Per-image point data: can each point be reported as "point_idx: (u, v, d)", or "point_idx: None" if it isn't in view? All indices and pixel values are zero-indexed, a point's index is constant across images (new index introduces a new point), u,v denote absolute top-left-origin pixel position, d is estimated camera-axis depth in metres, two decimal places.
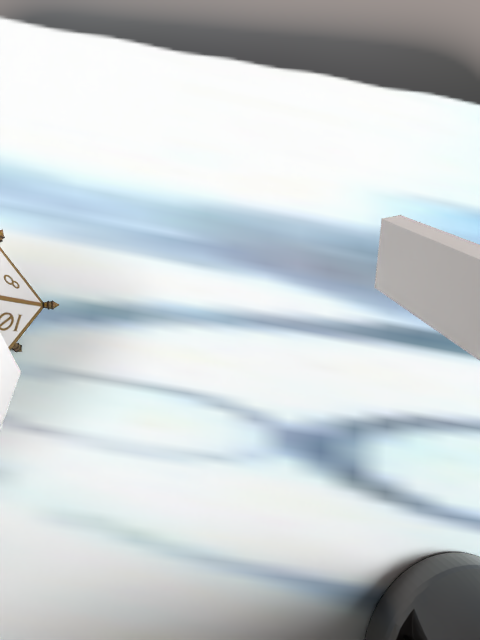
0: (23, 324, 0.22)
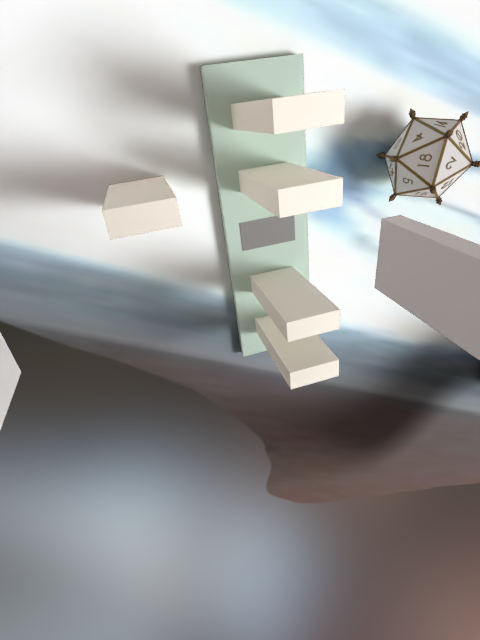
0: None
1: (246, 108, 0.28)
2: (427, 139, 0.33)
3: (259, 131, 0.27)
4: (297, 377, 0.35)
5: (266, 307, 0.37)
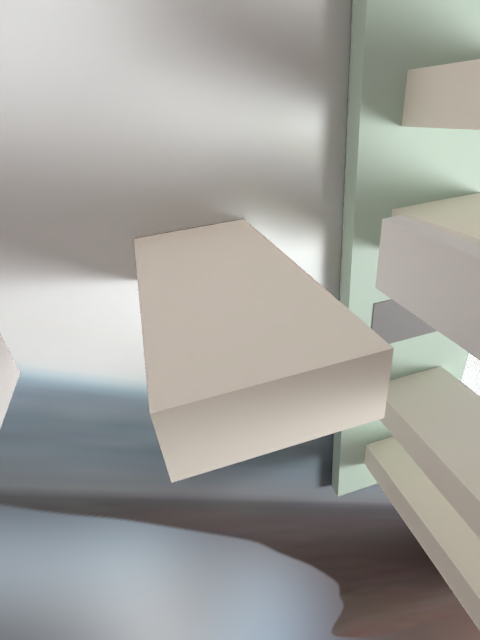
0: None
1: None
2: None
3: None
4: None
5: (428, 468, 0.19)
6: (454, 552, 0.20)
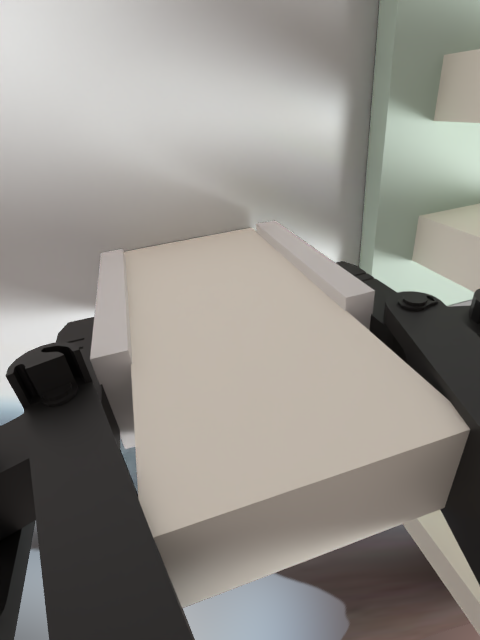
0: None
1: None
2: None
3: None
4: None
5: None
6: None
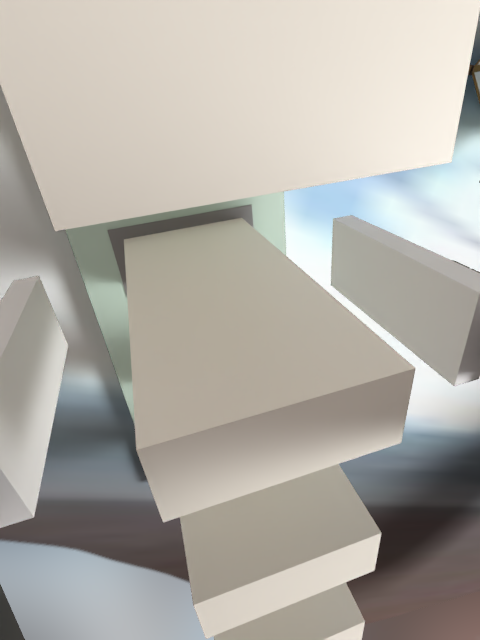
0: None
1: None
2: None
3: None
4: None
5: None
6: None
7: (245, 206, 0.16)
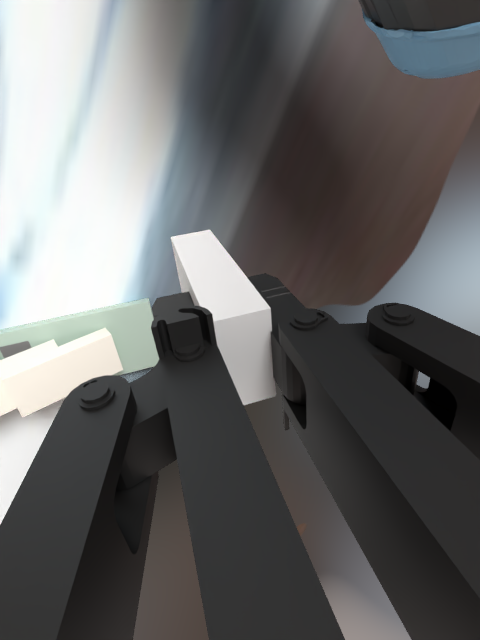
0: None
1: None
2: None
3: None
4: None
5: None
6: None
7: None
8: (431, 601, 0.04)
